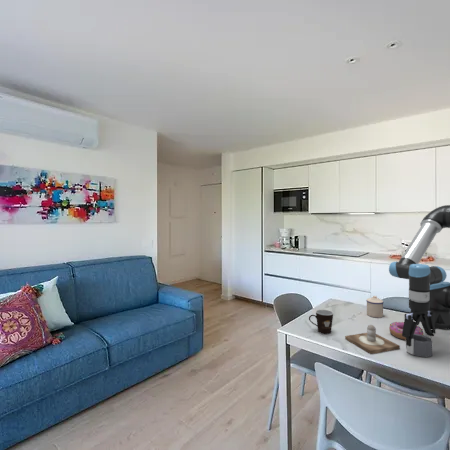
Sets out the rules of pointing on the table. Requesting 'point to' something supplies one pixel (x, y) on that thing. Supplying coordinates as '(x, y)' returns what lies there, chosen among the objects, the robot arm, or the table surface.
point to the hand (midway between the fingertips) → (418, 351)
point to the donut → (397, 330)
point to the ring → (422, 345)
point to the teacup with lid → (375, 307)
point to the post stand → (372, 341)
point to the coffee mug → (323, 321)
